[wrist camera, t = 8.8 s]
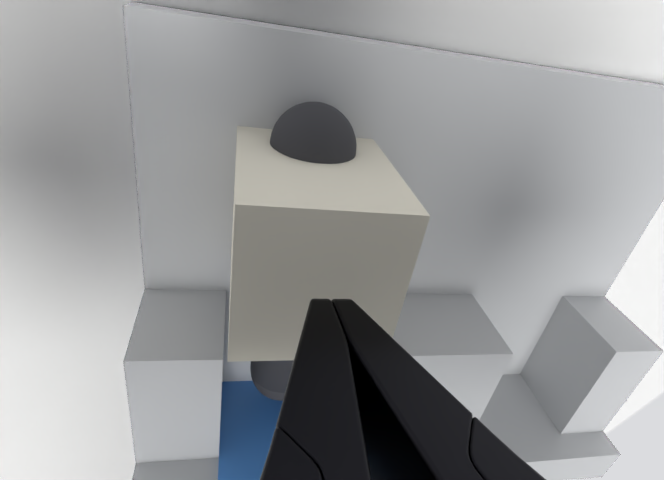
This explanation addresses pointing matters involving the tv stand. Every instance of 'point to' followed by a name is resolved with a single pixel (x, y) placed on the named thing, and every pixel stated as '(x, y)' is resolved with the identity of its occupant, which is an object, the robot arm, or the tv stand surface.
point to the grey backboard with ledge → (437, 246)
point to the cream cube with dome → (313, 235)
